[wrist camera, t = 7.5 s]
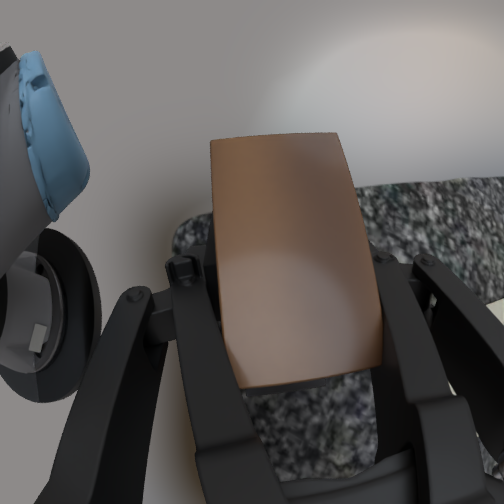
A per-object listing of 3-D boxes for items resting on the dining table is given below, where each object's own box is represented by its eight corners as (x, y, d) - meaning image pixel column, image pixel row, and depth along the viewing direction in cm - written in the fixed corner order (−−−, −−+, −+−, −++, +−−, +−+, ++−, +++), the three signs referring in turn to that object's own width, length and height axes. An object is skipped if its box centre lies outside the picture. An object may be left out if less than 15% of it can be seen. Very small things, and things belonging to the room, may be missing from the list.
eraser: (247, 389, 17) (236, 454, 6) (230, 216, 20) (209, 102, 10) (317, 380, 17) (392, 425, 6) (293, 210, 20) (323, 96, 10)
